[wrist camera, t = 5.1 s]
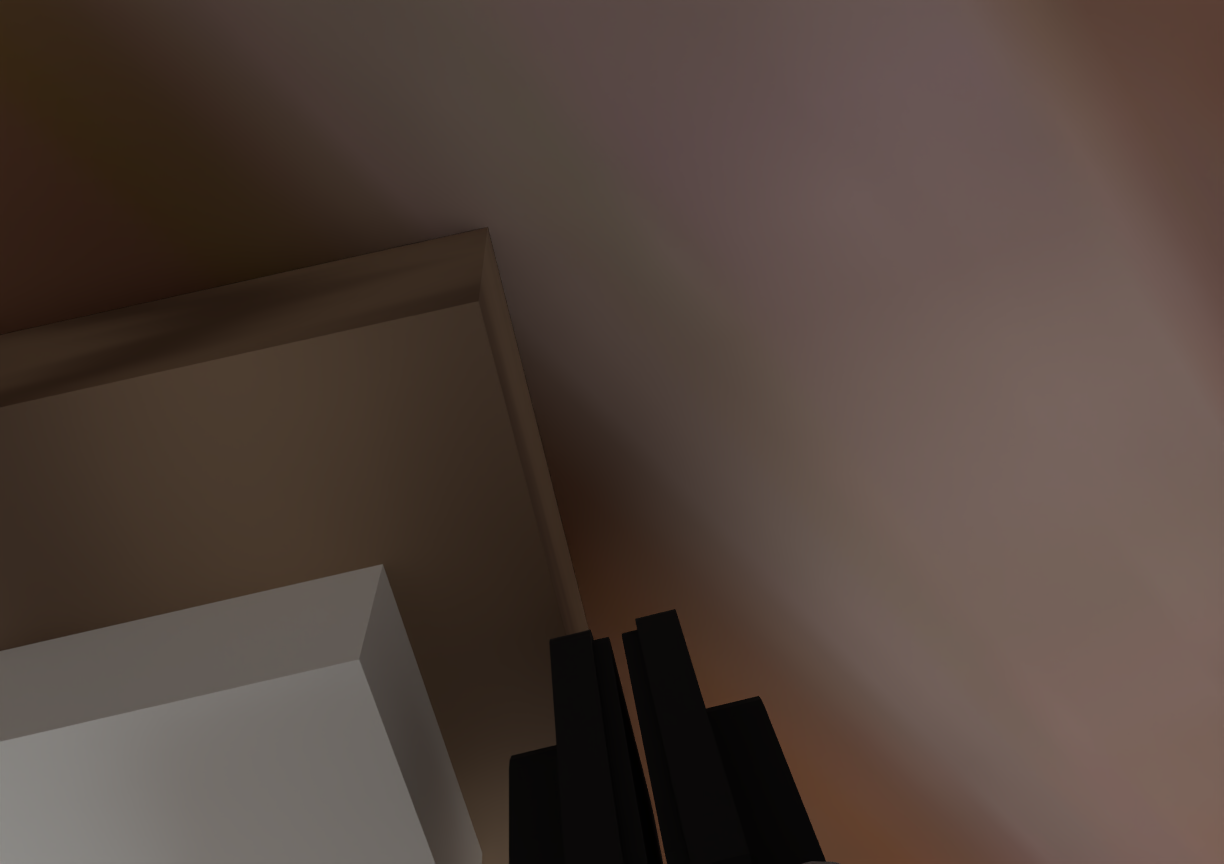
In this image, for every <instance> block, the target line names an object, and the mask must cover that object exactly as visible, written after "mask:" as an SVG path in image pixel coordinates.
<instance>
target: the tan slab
mask: <svg viewBox="0 0 1224 864" xmlns="http://www.w3.org/2000/svg"><path fill="white" fill-rule="evenodd" d="M381 564H383V566H384V569H385V572H386V575H387V578H388V581H389V583H390V586H391V589H392V592H393V595H394V598H395V601H396V604H397V607H398V610H399V613H400V615H401V618H402V621H403V624H404V627H405V630H406V633H407V636H408V639H409V642H410V645H411V647H412V650H413V653H414V656H415V659H416V662H417V665H418V668H419V671H420V674H421V676H422V679H423V682H424V685H425V688H426V691H427V694H428V697H429V700H430V703H431V706H432V708H433V711H434V714H435V717H436V720H437V723H438V726H439V729H440V732H441V735H442V738H443V740H444V743H445V746H446V749H447V752H448V755H449V758H450V761H451V764H452V767H453V770H454V772H455V775H456V778H457V781H458V784H459V787H460V790H461V793H462V796H463V799H464V801H465V804H466V807H467V810H468V813H469V816H470V819H471V822H472V825H473V828H474V831H475V833H476V836H477V839H478V842H479V845H480V848H481V851H482V864H509V760H510V758H511V756H512V755H516V754H520V753H525V752H529V751H533V750H537V749H541V748H545V747H549V746H554V745H556V732H555V717H554V703H553V689H552V674H551V660H550V646H549V641H550V639H553V638H557V637H561V636H566V635H570V634H574V633H578V632H582V631H586V630H589V629H588V625H587V621H586V617H585V613H584V609H583V605H582V601H581V597H580V593H579V589H578V585H577V581H576V577H575V573H574V569H573V565H572V561H571V557H570V553H569V549H568V545H567V541H566V537H565V533H564V529H563V525H562V521H561V517H560V513H559V509H558V505H557V501H556V497H555V493H554V490H553V486H552V482H551V478H550V474H549V470H548V466H547V462H546V458H545V454H544V450H543V446H542V442H541V438H540V434H539V430H538V426H537V422H536V418H535V414H534V410H533V406H532V402H531V398H530V394H529V390H528V386H527V382H526V378H525V374H524V370H523V366H522V362H521V358H520V354H519V350H518V346H517V342H516V338H515V334H514V330H513V326H512V322H511V318H510V314H509V310H508V306H507V302H506V298H505V294H504V290H503V286H502V282H501V278H500V274H499V270H498V266H497V262H496V258H495V254H494V250H493V246H492V242H491V238H490V234H489V230H488V227H487V228H482V229H478V230H473V231H469V232H464V233H460V234H455V235H451V236H446V237H442V238H437V239H433V240H428V241H423V242H419V243H414V244H410V245H405V246H401V247H396V248H392V249H387V250H383V251H378V252H374V253H369V254H365V255H360V256H356V257H351V258H346V259H342V260H337V261H333V262H328V263H324V264H319V265H315V266H310V267H306V268H301V269H297V270H292V271H288V272H283V273H279V274H274V275H270V276H265V277H260V278H256V279H251V280H247V281H242V282H238V283H233V284H229V285H224V286H220V287H215V288H211V289H206V290H202V291H197V292H193V293H188V294H183V295H179V296H174V297H170V298H165V299H161V300H156V301H152V302H147V303H143V304H138V305H134V306H129V307H125V308H120V309H116V310H111V311H106V312H102V313H97V314H93V315H88V316H84V317H79V318H75V319H70V320H66V321H61V322H57V323H52V324H48V325H43V326H39V327H34V328H29V329H25V330H20V331H16V332H11V333H7V334H2V335H0V651H3V650H8V649H12V648H16V647H21V646H25V645H29V644H34V643H38V642H43V641H47V640H51V639H56V638H60V637H65V636H69V635H73V634H78V633H82V632H87V631H91V630H95V629H100V628H104V627H109V626H113V625H117V624H122V623H126V622H131V621H135V620H139V619H144V618H148V617H152V616H157V615H161V614H166V613H170V612H174V611H179V610H183V609H188V608H192V607H196V606H201V605H205V604H210V603H214V602H218V601H223V600H227V599H232V598H236V597H240V596H245V595H249V594H253V593H258V592H262V591H267V590H271V589H275V588H280V587H284V586H289V585H293V584H297V583H302V582H306V581H311V580H315V579H319V578H324V577H328V576H333V575H337V574H341V573H346V572H350V571H354V570H359V569H363V568H368V567H372V566H376V565H381Z"/></svg>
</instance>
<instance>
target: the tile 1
mask: <svg viewBox="0 0 1224 864" xmlns="http://www.w3.org/2000/svg"><path fill="white" fill-rule="evenodd" d="M0 864H482V851H481V848H480V845H479V842H478V839H477V836H476V833H475V831H474V828H473V825H472V822H471V819H470V816H469V813H468V810H467V807H466V804H465V801H464V799H463V796H462V793H461V790H460V787H459V784H458V781H457V778H456V775H455V772H454V770H453V767H452V764H451V761H450V758H449V755H448V752H447V749H446V746H445V743H444V740H443V738H442V735H441V732H440V729H439V726H438V723H437V720H436V717H435V714H434V711H433V708H432V706H431V703H430V700H429V697H428V694H427V691H426V688H425V685H424V682H423V679H422V676H421V674H420V671H419V668H418V665H417V662H416V659H415V656H414V653H413V650H412V647H411V645H410V642H409V639H408V636H407V633H406V630H405V627H404V624H403V621H402V618H401V615H400V613H399V610H398V607H397V604H396V601H395V598H394V595H393V592H392V589H391V586H390V583H389V581H388V578H387V575H386V572H385V569H384V566H383V564H381V565H376V566H372V567H368V568H363V569H359V570H354V571H350V572H346V573H341V574H337V575H333V576H328V577H324V578H319V579H315V580H311V581H306V582H302V583H297V584H293V585H289V586H284V587H280V588H275V589H271V590H267V591H262V592H258V593H253V594H249V595H245V596H240V597H236V598H232V599H227V600H223V601H218V602H214V603H210V604H205V605H201V606H196V607H192V608H188V609H183V610H179V611H174V612H170V613H166V614H161V615H157V616H152V617H148V618H144V619H139V620H135V621H131V622H126V623H122V624H117V625H113V626H109V627H104V628H100V629H95V630H91V631H87V632H82V633H78V634H73V635H69V636H65V637H60V638H56V639H51V640H47V641H43V642H38V643H34V644H29V645H25V646H21V647H16V648H12V649H8V650H3V651H0Z"/></svg>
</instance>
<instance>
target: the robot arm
mask: <svg viewBox="0 0 1224 864" xmlns="http://www.w3.org/2000/svg"><path fill="white" fill-rule="evenodd" d="M635 621H636V625H637V629H638V630H635V631H631V632H627V633H623V634H622V639H623V644H624V649H625V654H626V659H627V664H628V669H629V674H630V679H631V684H632V689H633V694H634V699H635V704H636V710H637V715H638V720H639V725H640V730H641V735H642V740H643V745H644V750H645V755H646V760H647V765H648V770H649V775H650V780H651V786H652V791H653V796H654V801H655V806H656V811H657V816H658V821H659V826H660V831H661V836H662V841H663V846H664V851H665V856H666V861H667V864H840V863H836V862H826V860H825V858H824V855H823V853H822V850H821V848H820V845H819V843H818V840H817V837H816V835H815V832H814V830H813V827H812V825H811V822H810V820H809V817H808V815H807V812H806V810H805V807H804V805H803V802H802V800H801V797H800V795H799V792H798V790H797V787H796V785H795V782H794V780H793V777H792V774H791V772H790V769H789V767H788V764H787V762H786V759H785V757H784V754H783V752H782V749H781V747H780V744H779V742H778V739H777V737H776V734H775V732H774V729H773V727H772V724H771V722H770V719H769V717H768V714H767V711H766V709H765V707H764V704H763V702H762V700H761V698H760V697H759V696H757V697H752V698H748V699H744V700H740V701H736V702H732V703H728V704H723V705H719V706H715V707H711V708H707V709H706V708H705V705H704V701H703V698H702V695H701V692H700V688H699V685H698V682H697V678H696V675H695V672H694V669H693V665H692V662H691V659H690V655H689V652H688V649H687V646H686V642H685V639H684V636H683V632H682V629H681V626H680V623H679V619H678V616H677V613H676V610H675V609H674V610H670V611H666V612H662V613H657V614H653V615H649V616H645V617H641V618H637V619H635ZM549 646H550V660H551V674H552V689H553V703H554V717H555V732H556V745H554V746H549V747H545V748H541V749H537V750H533V751H529V752H525V753H520V754H516V755H512V756H511V758H510V760H509V864H663V860H662V855H661V850H660V845H659V840H658V834H657V829H656V824H655V819H654V814H653V810H652V805H651V801H650V797H649V792H648V788H647V784H646V781H645V777H644V773H643V769H642V765H641V761H640V757H639V753H638V749H637V745H636V741H635V737H634V733H633V729H632V725H631V721H630V717H629V714H628V710H627V706H626V702H625V698H624V694H623V690H622V686H621V682H620V678H619V674H618V670H617V666H616V662H615V658H614V654H613V650H612V647H611V643H610V639H609V637H606V638H602V639H597V640H594V639H593V636H592V633H591V630H586V631H582V632H578V633H574V634H570V635H566V636H561V637H557V638H553V639H550V641H549Z"/></svg>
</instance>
